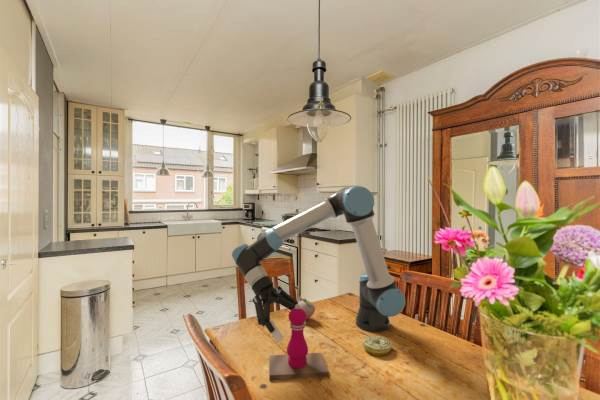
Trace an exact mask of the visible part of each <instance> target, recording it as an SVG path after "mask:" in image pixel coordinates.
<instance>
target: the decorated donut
mask: <svg viewBox="0 0 600 400" xmlns="http://www.w3.org/2000/svg"><path fill="white" fill-rule="evenodd" d="M362 345H363V349H364V350H365V351H366V352H367V353H369V354H371V355H373V356H379V357H382V356H386V355H388V354H390V352H391V351H392V348H393V344H392V343H391V342H390V340H388V338H387V339H386V338H385V337H382V336H379V335H377V336H376V335H374V336H373V335H372V336H367V337H365V338H364V339H363V341H362Z"/></svg>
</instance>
